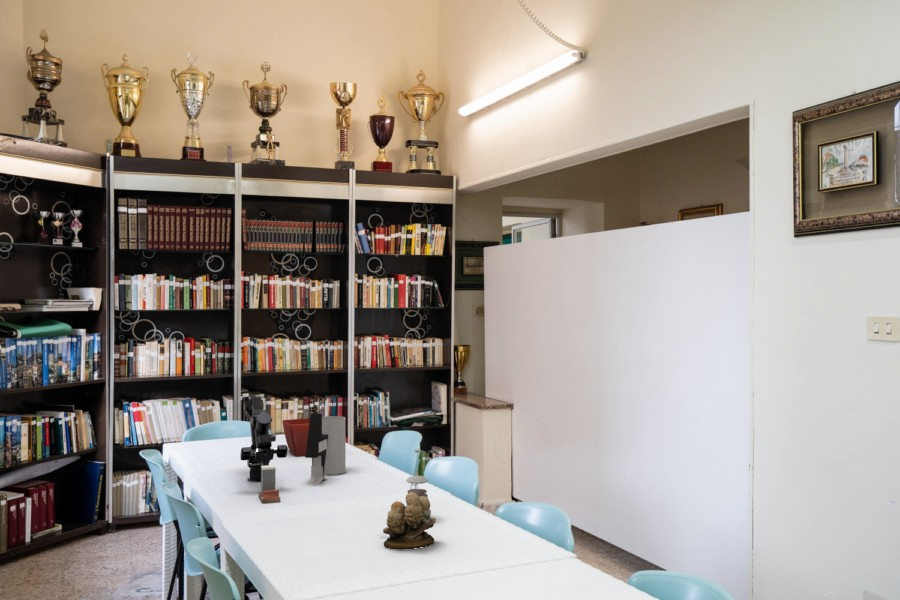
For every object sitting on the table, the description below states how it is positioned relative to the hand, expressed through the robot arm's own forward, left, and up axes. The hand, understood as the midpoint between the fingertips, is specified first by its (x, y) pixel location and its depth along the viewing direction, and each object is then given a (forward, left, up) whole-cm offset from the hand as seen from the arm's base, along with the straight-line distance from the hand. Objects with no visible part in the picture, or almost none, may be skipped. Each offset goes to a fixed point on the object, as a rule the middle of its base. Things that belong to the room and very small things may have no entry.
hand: (266, 469), depth 325 cm
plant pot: (-75, -42, -10) cm, 86 cm away
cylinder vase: (-46, -2, -10) cm, 47 cm away
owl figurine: (+26, +86, -10) cm, 91 cm away
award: (-28, +4, -10) cm, 30 cm away
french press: (-2, +71, -10) cm, 72 cm away
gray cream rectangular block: (+4, +5, -8) cm, 10 cm away
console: (+5, +7, -10) cm, 13 cm away
